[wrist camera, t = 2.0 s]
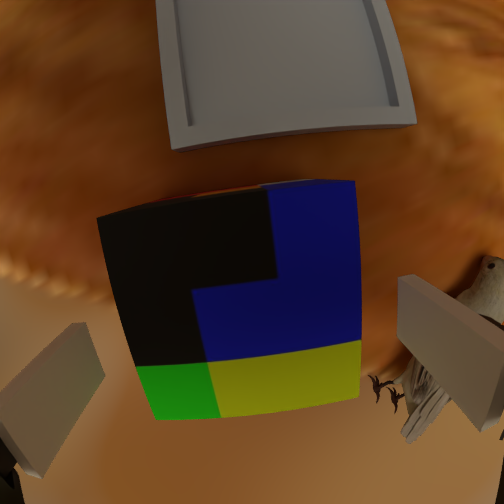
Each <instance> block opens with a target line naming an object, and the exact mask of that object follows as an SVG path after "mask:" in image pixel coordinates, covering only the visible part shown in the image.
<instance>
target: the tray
mask: <svg viewBox="0 0 504 504" xmlns="http://www.w3.org/2000/svg"><path fill="white" fill-rule="evenodd" d="M156 13H157V26H158V39H159V50H160V60H161V70H162V79H163V88H164V97H165V105H166V113H167V120H168V128H169V135H170V142H171V149H172V150H174V151H177V152H179V153H180V152H185V151H190V150H195V149H200V148H206V147H211V146H217V145H223V144H229V143H235V142H242V141H249V140H256V139H263V138H271V137H279V136H287V135H297V134H306V133H317V132H329V131H343V130H359V129H383V128H404V127H407V126H411V125H415V124H417V119H416V113H415V108H414V103H413V98H412V93H411V88H410V84H409V80H408V75H407V71H406V67H405V63H404V59H403V55H402V52H401V48H400V45H399V41H398V38H397V34H396V31H395V28H394V25H393V22H392V19H391V16H390V13H389V10H388V7H387V4H386V1H385V0H156Z"/></svg>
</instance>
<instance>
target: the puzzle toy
mask: <svg viewBox="0 0 504 504" xmlns="http://www.w3.org/2000/svg"><path fill="white" fill-rule="evenodd" d="M97 223H98V229H99V234H100V239H101V244H102V248H103V253H104V258H105V262H106V266H107V271H108V275H109V279H110V283H111V287H112V291H113V295H114V298H115V302H116V306H117V309H118V313H119V316H120V320H121V323H122V327H123V330H124V333H125V336H126V340H127V343H128V346H129V349H130V352H131V355H132V358H133V361H134V363H135V367H136V369H137V372H138V375H139V378H140V380H141V383H142V386H143V389H144V391H145V394H146V397H147V399H148V402H149V404H150V407H151V409H152V412H153V414H154V416H155V419H156V420H184V419H207V418H208V419H209V418H224V417H236V416H247V415H256V414H265V413H273V412H280V411H287V410H293V409H300V408H306V407H312V406H317V405H323V404H328V403H333V402H337V401H343V400H347V399H352V398H356V397H359V386H360V367H361V335H362V291H361V258H360V238H359V223H358V210H357V198H356V187H355V181H350V180H326V179H300V180H291V181H282V182H274V183H266V184H258V185H250V186H243V187H235V188H228V189H221V190H215V191H208V192H202V193H195V194H189V195H183V196H177V197H171V198H165V199H160V200H156V201H152V202H149V203H145V204H142V205H138V206H135V207H131V208H128V209H124V210H121V211H118V212H114V213H111V214H108V215H105V216H101V217H98V218H97Z"/></svg>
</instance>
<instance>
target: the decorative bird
mask: <svg viewBox="0 0 504 504" xmlns="http://www.w3.org/2000/svg"><path fill="white" fill-rule="evenodd" d="M455 300H457V301H458V302H460V303H462V304H463V305H465V306H466V307H468V308H469V309H471V310H473V311H474V312H476V313H477V314H482V315H485V316H488V317H491V318H493V319H494V320H496V321H497V322H499V323H501V324H502V322H503V321H504V260H503V259H501V258H499V257H493V256H484V257H483V259H482V262H481V267H480V272H479V274H478V276H477V277H476V279H475V281H474V283H473V285H472V286H471V287H470V288H469V289H467V290H464V291H463V292H462V293H461V294H459V295H458V296H457V297H456V298H455ZM368 376H369V377H370V378H371V379H372V382H373V390H374V392H375V393H376V395H377V401H376V403H377V402H378V400H379V397H380V394H379V392H380V389H381V388H382V387H384V386H386V385H388V384H399V383H401V384H402V387H403V391H404V393H403V394H401V395H399V393H398V395H397V394H396V390H395V388H393V389H394V393H393V391H392V390H391V389H390V388H388V387H387V388H388V389H389V390H390V392H391V400H392V403H393V404H394V405H395V413H396V411H397V402H398V399H400V398H402V397H403V396H405V400H406V405H407V410H408V414H409V418H408V419H407V421H406V423H405V424H404V426H403V428H402V430H401V434H402V435H403V436H404V437H406V442H407V443H409V444H411V443H412V442H413V441H415V440H416V439H417V438H418V436H421V434H422V433H423V432H424V431H425V430H426V428H427V427H428V426H429V424H430V423H433V422H434V420H435V419H436V417H437V416H438V414H439V413H440V411H441V410H442V408H443V407H444V405H446V404H447V403H448V402H449V401H450V400H451V399H452V398H451V397H450V396H449V395H448V394H447V393H446V391H445V390H444V389H443V388H442V387H441V386H440V384H439V383H438V382H437V381H436V380H435V379H434V378H433V376H432V375H431V374H430V373H429V372H428V371H427V370H426V369H425V367H424V366H423V365H422V364H421V363H420V362H419V361H418V360H417V358H416V357H415V356H414V355H413V356H412V358H411V359H410V361H409V363H408V365H407V368H406V370H405V371H404V372H403V373H402V374H401V375H400V376H399V377H397V378H396V379H394V380H393V381H387V382H385V383H383V384H382V383H380V384H379V380H378V378H377V376H375V377H376V381H375V379H374V378H372V377H371V376H370V375H368ZM396 395H397V396H396Z"/></svg>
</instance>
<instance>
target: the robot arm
mask: <svg viewBox="0 0 504 504" xmlns="http://www.w3.org/2000/svg"><path fill="white" fill-rule="evenodd" d="M397 337H398V339H399V340H400V341H401V342H402V343H403V344H404V345H405V346H406V347H407V348H408V350H409V351H410V352H411V353H412V354H413V355H414V356H415V357H416V358H417V360H418V361H419V362H420V363H421V364H422V365H423V366H424V367H425V369H426V370H427V371H428V372H429V373H430V374H431V375H432V376H433V378H434V379H435V380H436V381H437V382H438V383H439V384H440V386H441V387H442V388H443V389H444V390H445V391H446V393H447V394H448V395H449V396H450V397H451V398H452V400H453V401H454V402H455V403H456V404H457V405H458V407H460V409H461V410H462V411H463V413H464V414H465V415H466V416H467V417H468V419H469V420H470V421H471V422H472V423H473V425H474V426H475V427H476V428H477V429H478V430H479V432H482V431H484V430H486V429H488V428H490V427H491V426H493V425H495V424H497V423H498V422H499V420H500V417H501V415H502V412H503V409H504V325H501V323H499V322H497V321H496V320H494V319H493V318H491V317H488V316H485V315H482V314H477V313H476V312H474V311H473V310H471V309H469V308H468V307H466V306H465V305H463V304H462V303H460V302H458V301H457V300H455V299H454V298H452V297H450V296H449V295H447V294H446V293H444V292H442V291H441V290H439V289H438V288H436V287H434V286H433V285H431V284H429V283H428V282H426V281H424V280H423V279H421V278H419V277H418V276H416V275H414V274H411V275H406V276H401V277H398V316H397ZM104 377H105V373H104V371H103V369H102V366H101V363H100V361H99V358H98V356H97V353H96V351H95V348H94V345H93V342H92V339H91V337H90V334H89V331H88V328H87V325H86V323H85V322H83V323H72V324H71V325H70V326H68V327H67V328H66V329H65V330H64V331H63V332H62V333H61V334H60V335H59V336H58V337H56V338H55V339H54V340H53V341H52V342H51V343H50V344H49V345H48V346H47V347H46V348H45V349H44V350H43V351H42V352H40V353H39V354H38V355H37V356H36V357H35V358H34V359H33V360H32V361H31V362H30V363H29V364H28V365H27V366H26V367H25V368H24V369H23V370H22V371H21V372H20V373H19V374H18V375H17V376H16V377H15V378H14V379H13V380H12V381H11V382H10V383H9V384H8V385H7V386H6V387H5V388H4V389H3V390H2V391H1V392H0V504H25V503H24V498H23V494H22V490H21V484H20V479H19V475H18V473H17V471H16V470H15V469H14V468H13V467H14V466H15V464H16V463H18V464H19V465H20V466H21V468H22V469H23V470H24V472H25V473H26V474H28V475H31V476H34V477H37V478H41V479H42V478H43V477H44V475H45V473H46V471H47V470H48V468H49V466H50V465H51V463H52V461H53V459H54V457H55V456H56V454H57V452H58V451H59V449H60V447H61V446H62V444H63V443H64V441H65V439H66V438H67V436H68V434H69V432H70V431H71V429H72V428H73V426H74V425H75V423H76V421H77V420H78V418H79V416H80V415H81V413H82V412H83V410H84V408H85V407H86V405H87V404H88V402H89V401H90V399H91V397H92V396H93V394H94V393H95V391H96V390H97V388H98V387H99V385H100V384H101V382H102V380H103V379H104ZM503 438H504V430H503V432H502V434H501V437H500V440H503ZM495 504H504V458H503V465H502V471H501V477H500V483H499V488H498V493H497V497H496V502H495Z"/></svg>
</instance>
